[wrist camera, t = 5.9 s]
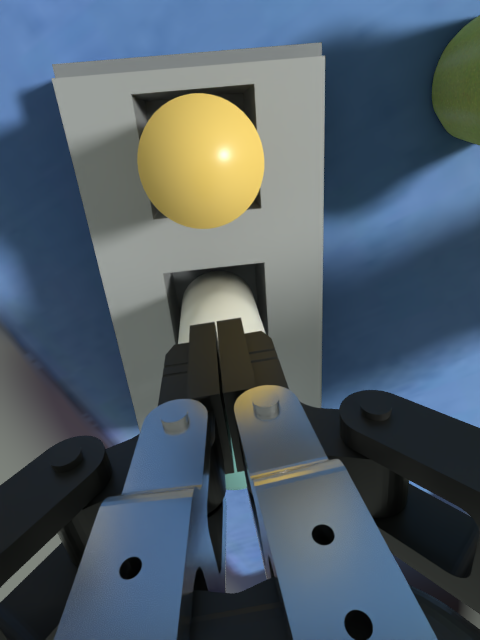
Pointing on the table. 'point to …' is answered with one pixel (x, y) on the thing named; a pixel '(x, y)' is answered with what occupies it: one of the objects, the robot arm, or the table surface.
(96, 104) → the grey rectangular block
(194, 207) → the yellow egg
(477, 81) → the plant pot
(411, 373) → the table surface
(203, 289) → the cream egg
